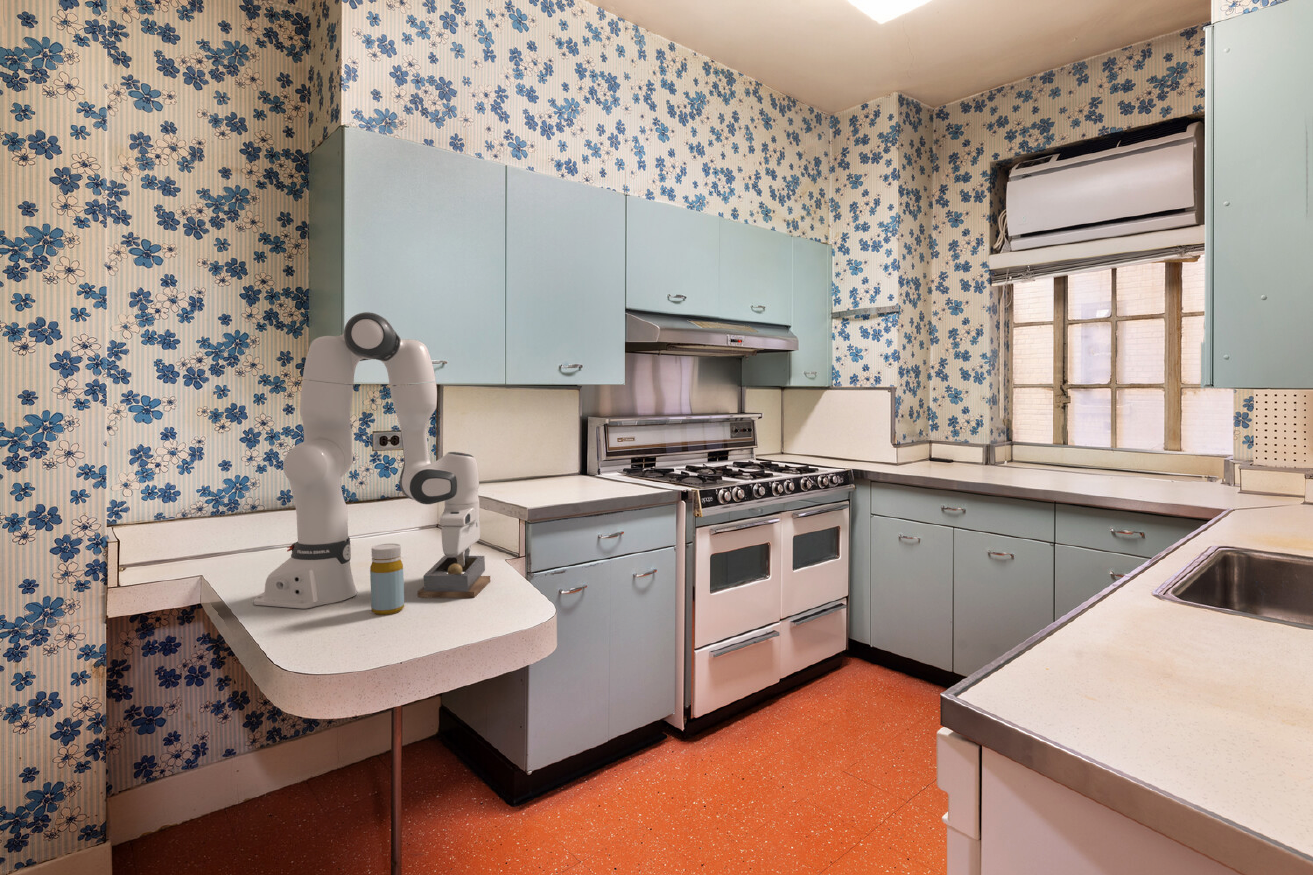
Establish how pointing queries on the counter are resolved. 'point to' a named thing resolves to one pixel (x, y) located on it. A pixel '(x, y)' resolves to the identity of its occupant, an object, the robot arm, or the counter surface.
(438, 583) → the grey open tray
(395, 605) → the bottle
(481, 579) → the keeper
